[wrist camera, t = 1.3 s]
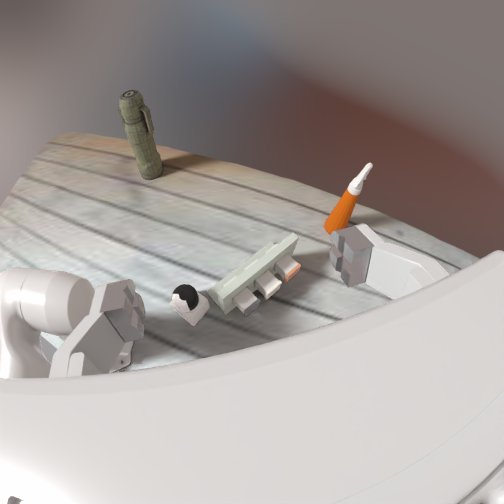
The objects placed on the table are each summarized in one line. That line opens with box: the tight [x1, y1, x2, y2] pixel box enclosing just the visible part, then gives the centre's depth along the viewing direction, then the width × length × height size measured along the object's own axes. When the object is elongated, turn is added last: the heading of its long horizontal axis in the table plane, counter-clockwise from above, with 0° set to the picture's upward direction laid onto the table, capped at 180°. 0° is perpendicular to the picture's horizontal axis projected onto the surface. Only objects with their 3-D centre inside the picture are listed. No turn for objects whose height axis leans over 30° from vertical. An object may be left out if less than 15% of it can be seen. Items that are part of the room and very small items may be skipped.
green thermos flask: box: [118, 90, 163, 180], centre depth 79 cm, size 9×12×35 cm
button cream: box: [244, 259, 282, 300], centre depth 69 cm, size 5×9×5 cm, turn 42°
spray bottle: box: [325, 163, 372, 234], centre depth 75 cm, size 7×11×26 cm, turn 137°
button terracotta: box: [265, 243, 301, 283], centre depth 72 cm, size 5×9×5 cm, turn 42°
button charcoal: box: [223, 276, 261, 317], centre depth 67 cm, size 5×9×5 cm, turn 42°
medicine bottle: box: [169, 284, 210, 326], centre depth 66 cm, size 7×7×12 cm
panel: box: [207, 233, 299, 314], centre depth 71 cm, size 24×8×14 cm, turn 132°
